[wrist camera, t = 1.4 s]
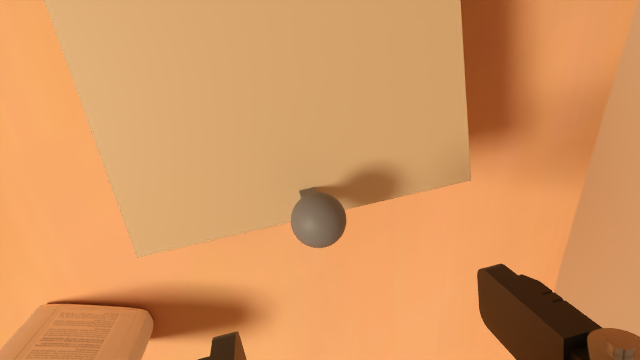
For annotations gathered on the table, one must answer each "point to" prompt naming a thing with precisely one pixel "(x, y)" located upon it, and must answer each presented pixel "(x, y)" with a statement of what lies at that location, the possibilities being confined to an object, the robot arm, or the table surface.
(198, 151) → the carton flap
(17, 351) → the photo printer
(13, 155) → the table surface
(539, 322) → the robot arm
